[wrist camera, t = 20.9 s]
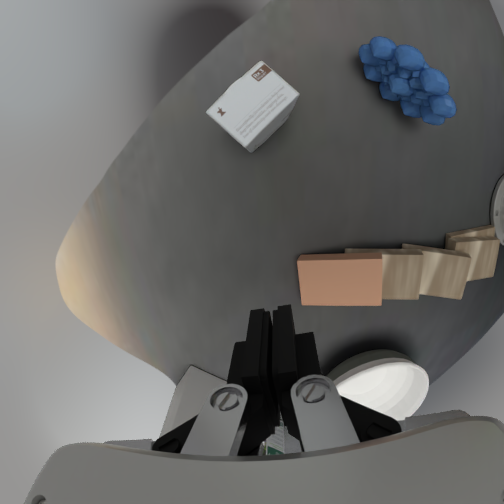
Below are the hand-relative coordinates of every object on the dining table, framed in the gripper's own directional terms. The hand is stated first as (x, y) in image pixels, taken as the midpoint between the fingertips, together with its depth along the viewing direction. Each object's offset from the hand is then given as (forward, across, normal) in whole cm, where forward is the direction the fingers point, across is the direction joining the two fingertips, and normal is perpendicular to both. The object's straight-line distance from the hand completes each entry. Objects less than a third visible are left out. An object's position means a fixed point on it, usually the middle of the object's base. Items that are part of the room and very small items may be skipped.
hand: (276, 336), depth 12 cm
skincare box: (+23, 0, -11) cm, 26 cm away
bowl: (+24, -10, +28) cm, 38 cm away
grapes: (+24, -17, -14) cm, 32 cm away
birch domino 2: (+23, -15, +9) cm, 29 cm away
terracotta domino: (+22, -2, +8) cm, 24 cm away
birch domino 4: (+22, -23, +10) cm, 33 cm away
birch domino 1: (+22, -8, +9) cm, 25 cm away
